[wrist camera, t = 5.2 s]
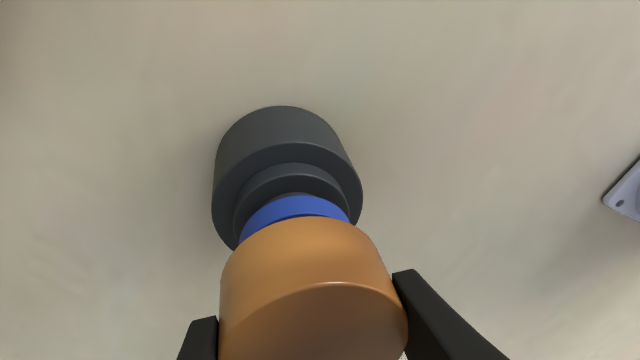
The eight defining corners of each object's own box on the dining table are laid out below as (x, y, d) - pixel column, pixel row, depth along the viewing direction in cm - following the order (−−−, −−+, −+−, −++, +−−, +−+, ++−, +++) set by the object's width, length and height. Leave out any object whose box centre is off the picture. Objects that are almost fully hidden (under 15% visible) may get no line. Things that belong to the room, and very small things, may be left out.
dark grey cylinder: (365, 134, 18) (421, 217, 13) (308, 229, 20) (335, 333, 15) (244, 83, 16) (250, 157, 10) (196, 196, 18) (180, 305, 13)
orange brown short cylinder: (408, 240, 12) (447, 306, 10) (333, 341, 14) (351, 414, 12) (260, 192, 10) (267, 262, 8) (196, 318, 12) (189, 401, 10)
